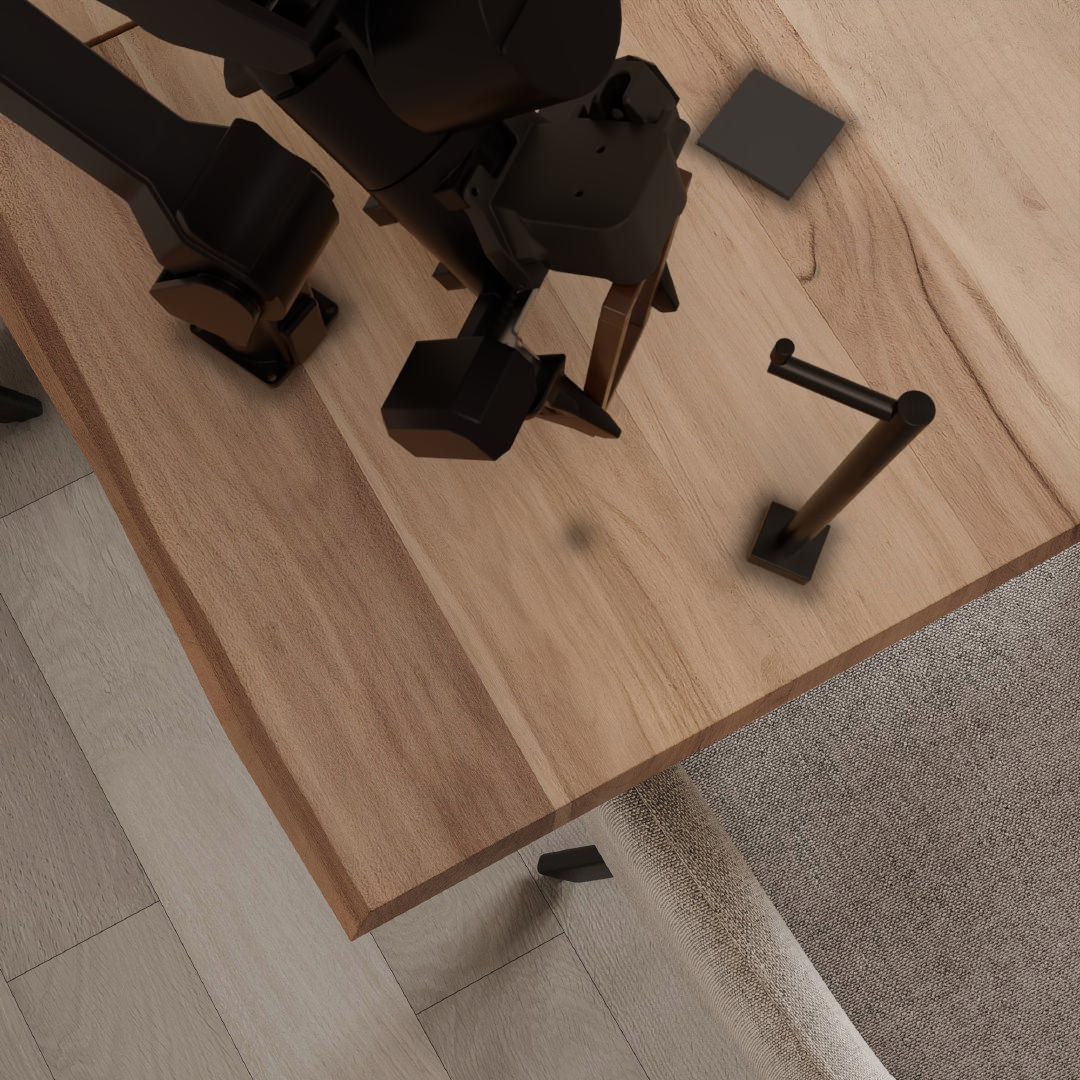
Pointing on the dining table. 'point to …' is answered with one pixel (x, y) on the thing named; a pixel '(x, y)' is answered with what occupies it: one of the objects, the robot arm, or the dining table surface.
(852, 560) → the dining table surface
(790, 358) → the black hanging stand
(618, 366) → the rectangular frame
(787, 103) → the felt mat
